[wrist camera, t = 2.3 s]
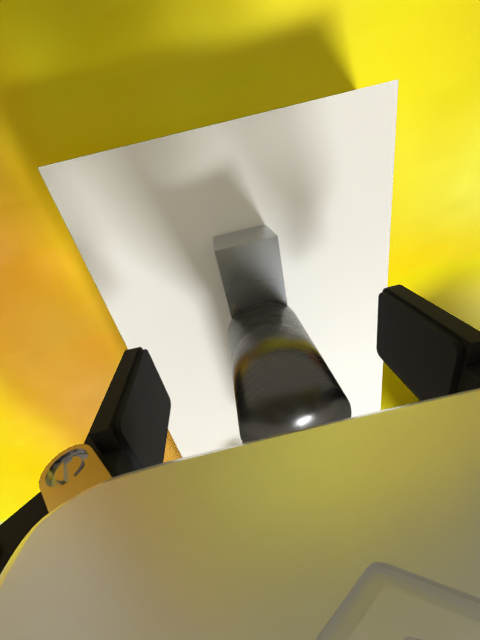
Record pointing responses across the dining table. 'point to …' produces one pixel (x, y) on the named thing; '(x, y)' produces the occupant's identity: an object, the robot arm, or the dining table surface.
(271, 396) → the bolt
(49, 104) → the dining table surface
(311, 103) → the slide latch panel
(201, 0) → the dining table surface
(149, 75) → the dining table surface
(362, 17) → the dining table surface
